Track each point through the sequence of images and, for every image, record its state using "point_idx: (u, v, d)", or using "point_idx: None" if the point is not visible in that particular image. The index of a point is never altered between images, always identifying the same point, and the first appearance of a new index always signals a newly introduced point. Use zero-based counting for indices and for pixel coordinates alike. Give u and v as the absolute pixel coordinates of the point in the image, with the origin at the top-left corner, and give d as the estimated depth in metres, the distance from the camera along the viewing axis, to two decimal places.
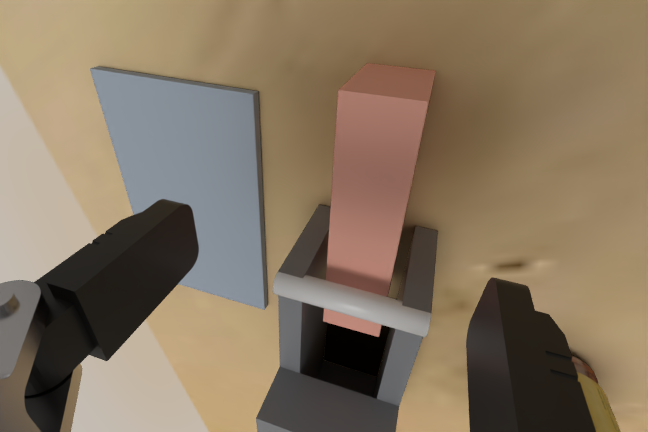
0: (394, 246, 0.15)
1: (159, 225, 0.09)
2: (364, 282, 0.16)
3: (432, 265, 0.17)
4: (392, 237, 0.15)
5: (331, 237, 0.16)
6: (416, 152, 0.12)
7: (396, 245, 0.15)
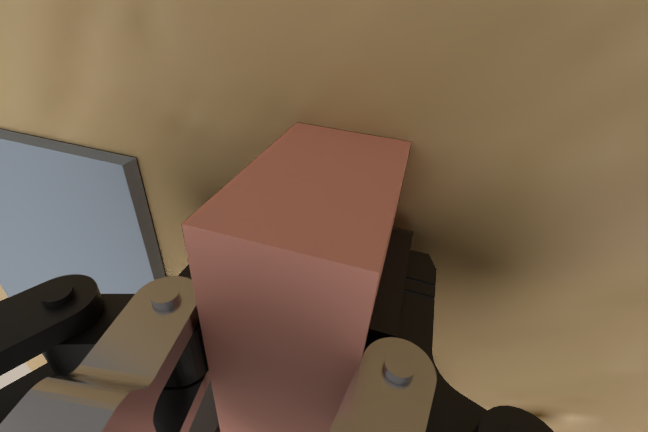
0: None
1: None
2: None
3: None
4: None
5: None
6: (360, 353, 0.06)
7: None
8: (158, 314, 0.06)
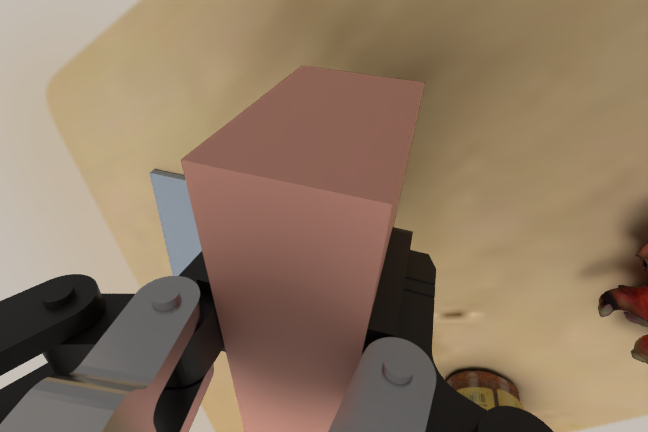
0: None
1: None
2: None
3: None
4: (339, 402, 0.08)
5: (237, 382, 0.09)
6: (371, 295, 0.06)
7: None
8: (158, 314, 0.06)
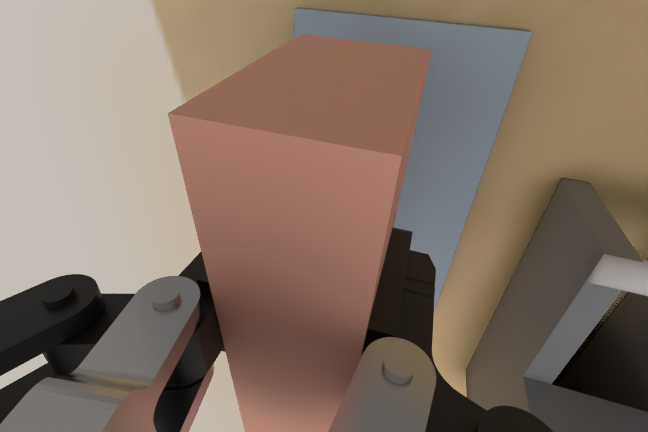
0: None
1: None
2: (301, 429, 0.10)
3: None
4: (341, 388, 0.07)
5: (234, 367, 0.08)
6: (376, 265, 0.05)
7: None
8: (159, 314, 0.06)
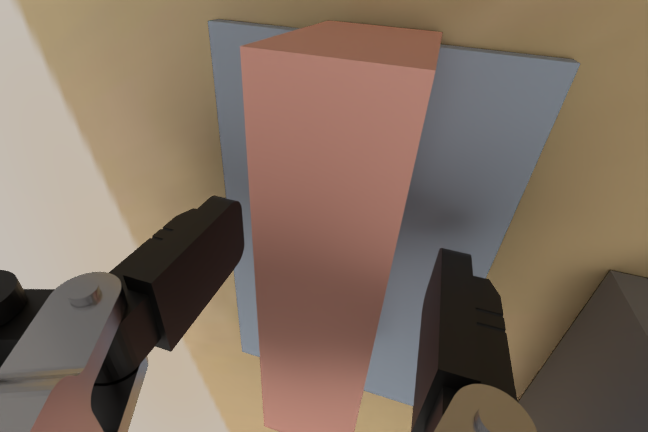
0: (368, 340, 0.08)
1: (216, 221, 0.09)
2: (321, 386, 0.10)
3: None
4: (365, 326, 0.08)
5: (261, 317, 0.09)
6: (408, 181, 0.06)
7: (371, 339, 0.08)
8: (73, 309, 0.06)
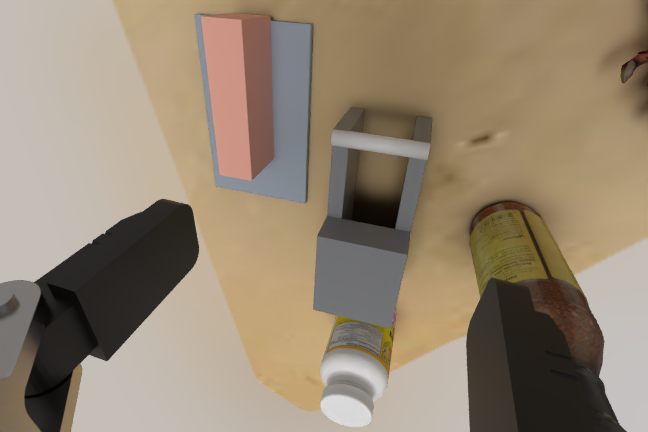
0: (245, 110, 0.27)
1: (159, 225, 0.09)
2: (236, 139, 0.28)
3: (429, 129, 0.27)
4: (243, 104, 0.27)
5: (213, 109, 0.28)
6: (242, 48, 0.25)
7: (246, 109, 0.27)
8: None
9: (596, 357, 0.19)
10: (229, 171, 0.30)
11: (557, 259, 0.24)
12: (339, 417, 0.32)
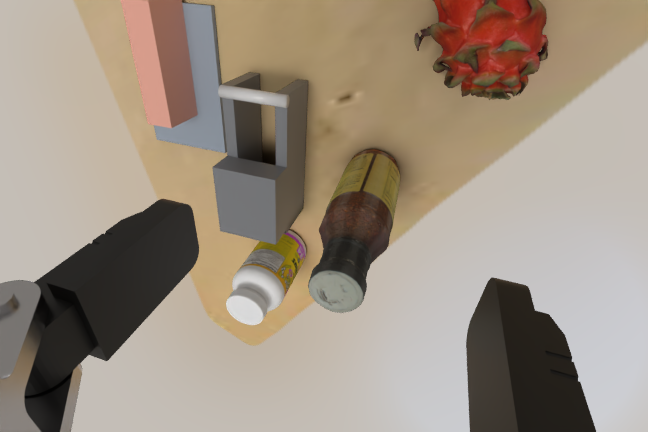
0: (159, 70, 0.36)
1: (159, 225, 0.09)
2: (156, 94, 0.37)
3: (297, 87, 0.35)
4: (157, 65, 0.35)
5: (137, 70, 0.36)
6: (151, 22, 0.33)
7: (160, 70, 0.36)
8: None
9: (371, 237, 0.28)
10: (154, 120, 0.39)
11: (378, 182, 0.33)
12: (241, 316, 0.41)
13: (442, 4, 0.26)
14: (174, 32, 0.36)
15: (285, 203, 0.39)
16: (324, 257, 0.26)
